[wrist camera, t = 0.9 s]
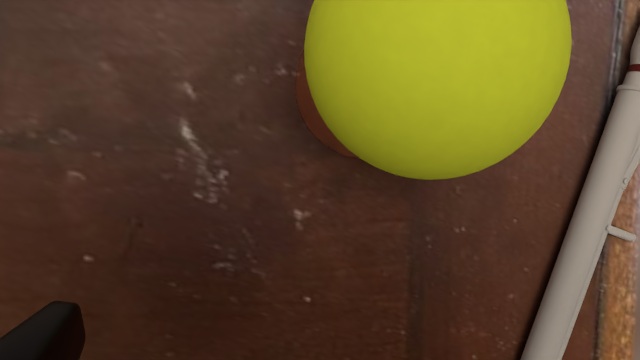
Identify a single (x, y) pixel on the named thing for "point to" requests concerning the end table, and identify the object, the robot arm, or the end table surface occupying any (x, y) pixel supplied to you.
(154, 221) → the end table surface
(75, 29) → the end table surface
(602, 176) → the rocket launcher
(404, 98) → the ball
